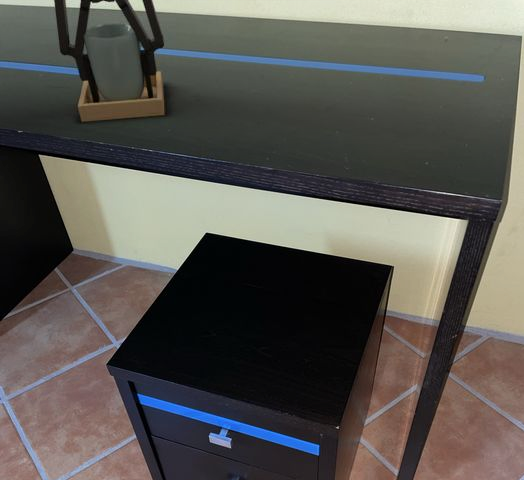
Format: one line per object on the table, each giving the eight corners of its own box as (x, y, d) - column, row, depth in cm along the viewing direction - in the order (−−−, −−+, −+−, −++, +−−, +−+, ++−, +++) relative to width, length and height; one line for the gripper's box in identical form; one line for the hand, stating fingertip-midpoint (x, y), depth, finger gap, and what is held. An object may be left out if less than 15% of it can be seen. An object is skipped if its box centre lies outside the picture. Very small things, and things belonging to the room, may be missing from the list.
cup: (157, 94, 85) (146, 25, 78) (131, 113, 80) (116, 40, 73) (118, 88, 88) (103, 20, 80) (90, 106, 83) (72, 35, 75)
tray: (82, 123, 80) (77, 106, 78) (88, 93, 88) (84, 76, 86) (164, 116, 81) (162, 99, 79) (163, 87, 89) (160, 71, 87)
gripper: (-3, -75, 64) (55, 113, 80) (167, -84, 66) (189, 102, 82) (9, -84, 69) (60, 95, 85) (166, -91, 71) (187, 85, 87)
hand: (124, 98), depth 84 cm, fingers closed on cup, 8 cm apart
